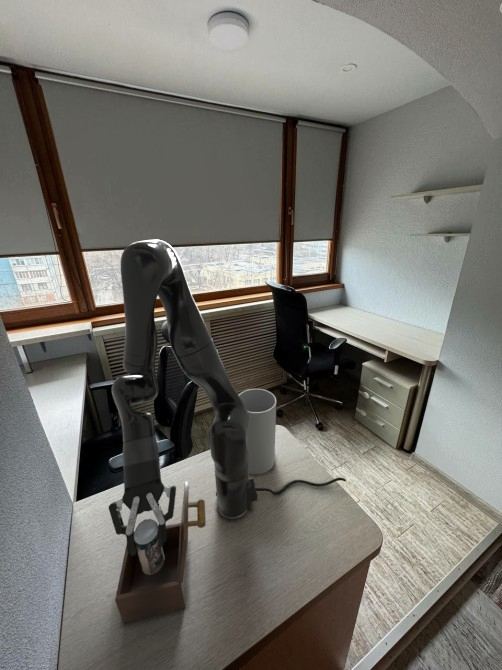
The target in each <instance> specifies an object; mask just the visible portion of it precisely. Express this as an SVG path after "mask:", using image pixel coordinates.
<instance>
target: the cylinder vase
mask: <svg viewBox="0 0 502 670" xmlns="http://www.w3.org/2000/svg"><path fill="white" fill-rule="evenodd" d="M238 395H239V397H240V399H241V400H242V402H243V403H244V405H245V407H246V409H247V411H248V415H249V422H248V430H247V449H248V466H249V474H251V475H261V474H265V473H267V472H269V471H270V470H271V469H272V468H273V465H274V464H275V458H276V425H277V419H276V418H277V397H276V396H275V394H273V393H272V392H271V391H269V390H267V389H263V388H249V389H246V390H243V391H242V392H240V393H238Z"/></svg>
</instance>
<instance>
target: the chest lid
mask: <svg viewBox="0 0 502 670" xmlns="http://www.w3.org/2000/svg"><path fill="white" fill-rule="evenodd" d="M189 485H190V481H185V482H184V489H183V498H182V506H181V507H182V508H181V517H180V523H181V535H180V562H179V583H182V582H183V576H184V568H185V560H186V561H187V551H188V544H189V543H188V542H189V527H198V528H200V529H202V528H205V527H206V525H207V523H206V522H207V521H206V502H205V500H204V499H199V500H197V501H193V502H189V496H190V495H189V488H190V486H189ZM189 508H196V511H197V512H196V513H197V515H196V517H197V518H196V519H197V520H196V519H195V520H189Z"/></svg>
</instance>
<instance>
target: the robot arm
mask: <svg viewBox="0 0 502 670" xmlns="http://www.w3.org/2000/svg"><path fill="white" fill-rule="evenodd" d="M120 278H121V288H122V299H123V308H124V309H123V310H124V321H125V322H124V324H125V325H124V327H125V328H124V331H125V333H124V345H123V355H122V357H123V358H122V367H123V369H124V371H125V372H126V373H128V374H130V375H122V376H118V377H116V378H115V380H114V381H113V383H112V386H111V394H112V399H113V401H114V404H115V406H116V409H117V410H118V411H117V412H118V414H119V417H120V421H121V422H120V423H121V428H122V429H121V430H122V470H123V487H124V488H123V489H124V490H123V495H122V498H120V499H118V500H116V501H112V502H111V503H110V504H109V505H108V511H109V514H110V518H111V521H112V525H113V528H114V530H115V531H114V532H115V535H117V536H118V535H119V536H120V535H124V536H125V537H126V545H127V552H128V554H130V553H131V557H132V556H135V555H136V544H135V540H134V532H135V530H134V529H135V527H136V523H137V519H138V516H139V515H141V514H143V513H145V512H150V511H152V512H153V514H154V516H155V518H156V520H157V523H158V532H159V543H160V547H162V546H164V542H166V538H167V534H166V526H167V525H166V523H167V521H169V520H171V519H172V518H173V517H174V512H175V503H176V494H177V485H171V486H165V485H164V483H163V481H162V474H161V464H160V451H159V445H158V441H157V435H156V423H155V417H154V415H153V413H152V412H148V411H138V410H135V409H134V408H133V407H132V405H139V404H146V403H151V402H153V401H154V400H156V398H157V397H158V396H159V391H160V390H159V389H160V388H159V382H158V379H157V374H156V358H157V352H158V343H159V338H158V336H159V335H158V331H157V326H156V321H155V310H156V309H155V307H156V303H157V299H158V298H159V301H160V302H161V304H162V307H163V310H164V313H165V318H166V325H167V334H168V340H169V341H168V342H169V345H170V348H171V350H172V351H171V352H172V353H173V355H174V358H175V360H176V361H177V363H178V365H179V367H180V369H181V371H182V373H184V375H185V376H186V377H187V379H189V380H190V381H191V382H193V383H194V384H196V385H197V386H199V387H200V388H201V389H202V390H203V391H204V393H205V394H206V395H207V398H208V399H209V401H210V404H211V406H212V410H213V417H212V420H211V423H210V426H209V430H208V442H209V449H210V450H209V451H210V456H211V459H212V461H213V466H214V476H215V477H214V478H215V489H216V490H215V491H216V492H215V497H216V505H217V506H216V507H217V510H218V513H219V514H220V516H221V517H223V518H225V519H227V520H239V519H241V518H242V517H244V516H245V515H246V514H247V513H248V512H251V510H252V503H254V502H257V501H258V493H257V492H265V493H266V492H267V493H270V494H271V495H273V496H278V495H281V494H282V493H283V492H284V491H286V489H288V488H289V487H290V486H292V485H294V484H305V485H308V486H312V487H326V486H329V485H331V484H334V483H335V482H338V481H342V482H346V481H347V479H345V478H344V477H336V478H333V479H331V480H329V481H326V482H322V483H315V482H312V481H308V480H304V479H294V480H291V481H289V482H287V484H285V485H284V486H283V487H282V488H281V489H279V490H278V491H273V490H272V489H270V488H265V487H256V484H255V479H254V478H250V473H249V466H248V449H247V430H248V422H249V415H248V411H247V409H246V407H245V405H244V403H243V402H242V400H241V399H240V397H239V393H238V392H237V390H236V388H235V387H234V385H233V383H232V381H231V379H230V376H229V374H228V371H227V370H226V369H227V368H226V367H225V364H224V362H223V361H222V358H221V356H220V353H219V351H218V347H217V346H216V344H215V342H214V340H213V337H212V335H211V333H210V331H209V330H208V328H207V325H206V323H205V321H204V318H203V316H202V314H201V312H200V310H199V308H198V305H197V304H196V301H195V299H194V297H193V295H192V292H191V289H190V287H189V284H188V280H187V279H186V275H185V272H184V268H183V265H182V263H181V260H180V258H179V255H178V253H177V252H176V250H175V249H174V248H173V247H172V245H170V244H169V243H167V242H166V241H164V240H160V239H148V240H141V241H135V242H133V243H131V244H129V245H127V246H126V247H125V248H124V250H123V251H122V253H121V257H120ZM164 493H165V496H166V498H169V500H168V508H167V512H166V513H164V511H163V509H162V507H161V505H160V499H162V495H163V494H164ZM123 504H124V505H125V506H126V507H127V508H128V509H129V510H130V512H129V516H128V521H127V525H125V523H124V520H123V517H122V513H121V511H122V510H123Z"/></svg>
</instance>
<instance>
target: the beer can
mask: <svg viewBox="0 0 502 670" xmlns="http://www.w3.org/2000/svg"><path fill="white" fill-rule="evenodd" d="M158 525H159V523H158V521H156V520H154V519H152V518H145V519H143V520H142V521H140V522H139V523H138V524H137V526H136V528H135V530H134V540H135V544H136V548H137V552H138V555H139V559H140V563H141V567H142V571H143V572H144V573H145V574H147V575H152V574H155V573H156V572H158V571H159V570H160V569H161V567H162V566H163V563H164V554H163V549H162V547H160V543H159V532H158Z"/></svg>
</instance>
